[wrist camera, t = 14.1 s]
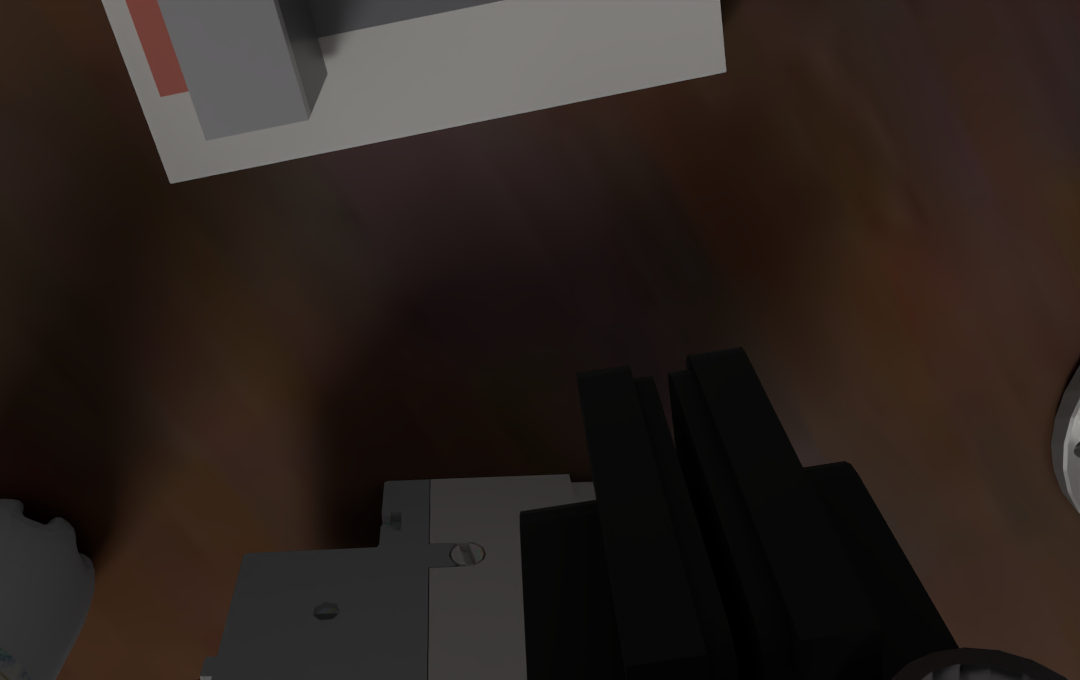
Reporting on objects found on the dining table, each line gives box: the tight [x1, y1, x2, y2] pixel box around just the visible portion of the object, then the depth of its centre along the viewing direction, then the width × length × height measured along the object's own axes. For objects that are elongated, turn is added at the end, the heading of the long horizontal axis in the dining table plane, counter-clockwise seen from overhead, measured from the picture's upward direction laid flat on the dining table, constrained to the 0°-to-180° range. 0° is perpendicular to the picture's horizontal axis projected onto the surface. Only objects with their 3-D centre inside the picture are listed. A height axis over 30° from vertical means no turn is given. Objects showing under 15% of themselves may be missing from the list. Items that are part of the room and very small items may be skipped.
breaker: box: [157, 0, 328, 141], centre depth 24 cm, size 2×4×4 cm, turn 10°
